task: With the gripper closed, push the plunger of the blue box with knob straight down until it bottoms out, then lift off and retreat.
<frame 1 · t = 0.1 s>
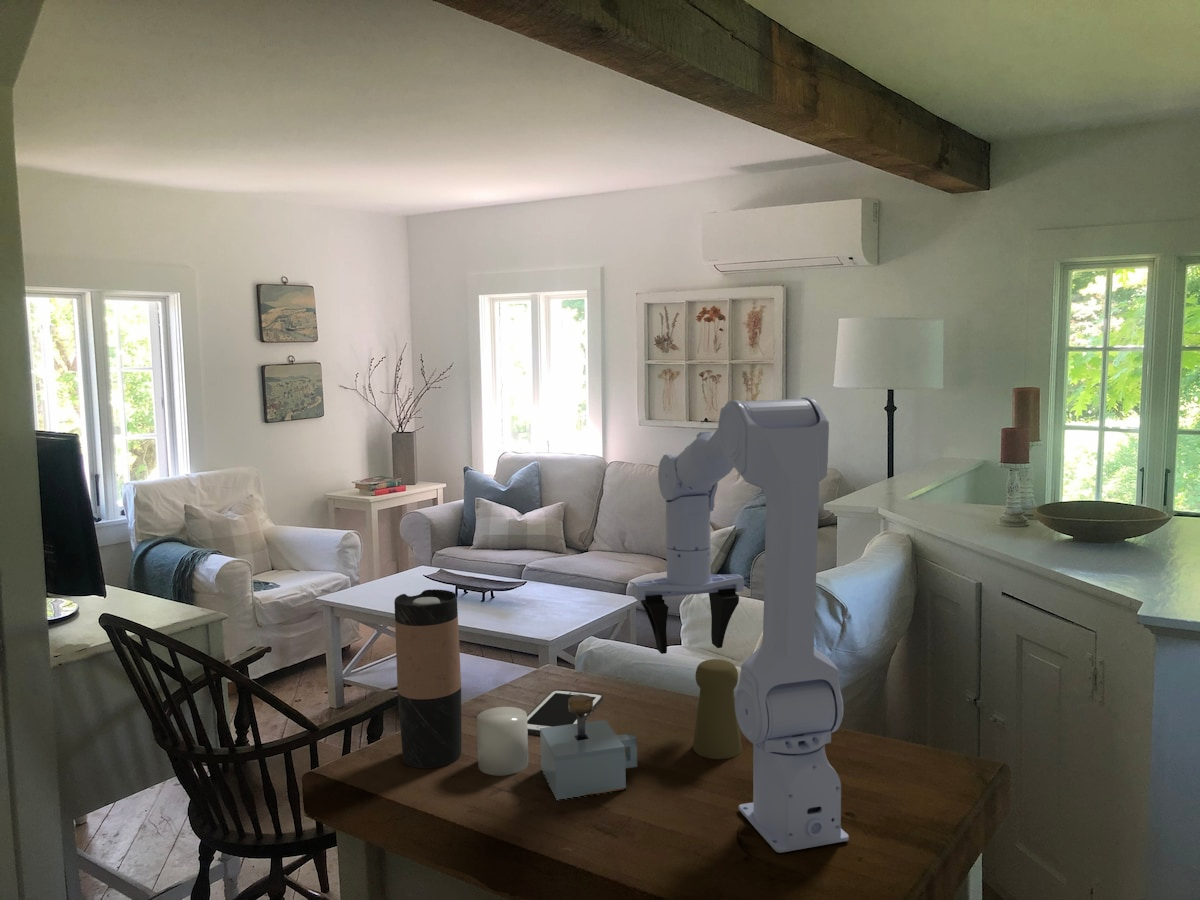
hand: (689, 648, 122), 10 cm above the kitchen island, tool pointing down, fingers open, 7 cm apart
stoneware cup: (503, 764, 112), on the kitchen island
cork: (717, 750, 115), on the kitchen island
plunger: (581, 723, 107), point 7 cm above the kitchen island, slide at 0.0 cm
travel mug: (432, 757, 115), on the kitchen island
cell phone: (561, 718, 127), on the kitchen island
blue box with knob: (582, 779, 107), on the kitchen island
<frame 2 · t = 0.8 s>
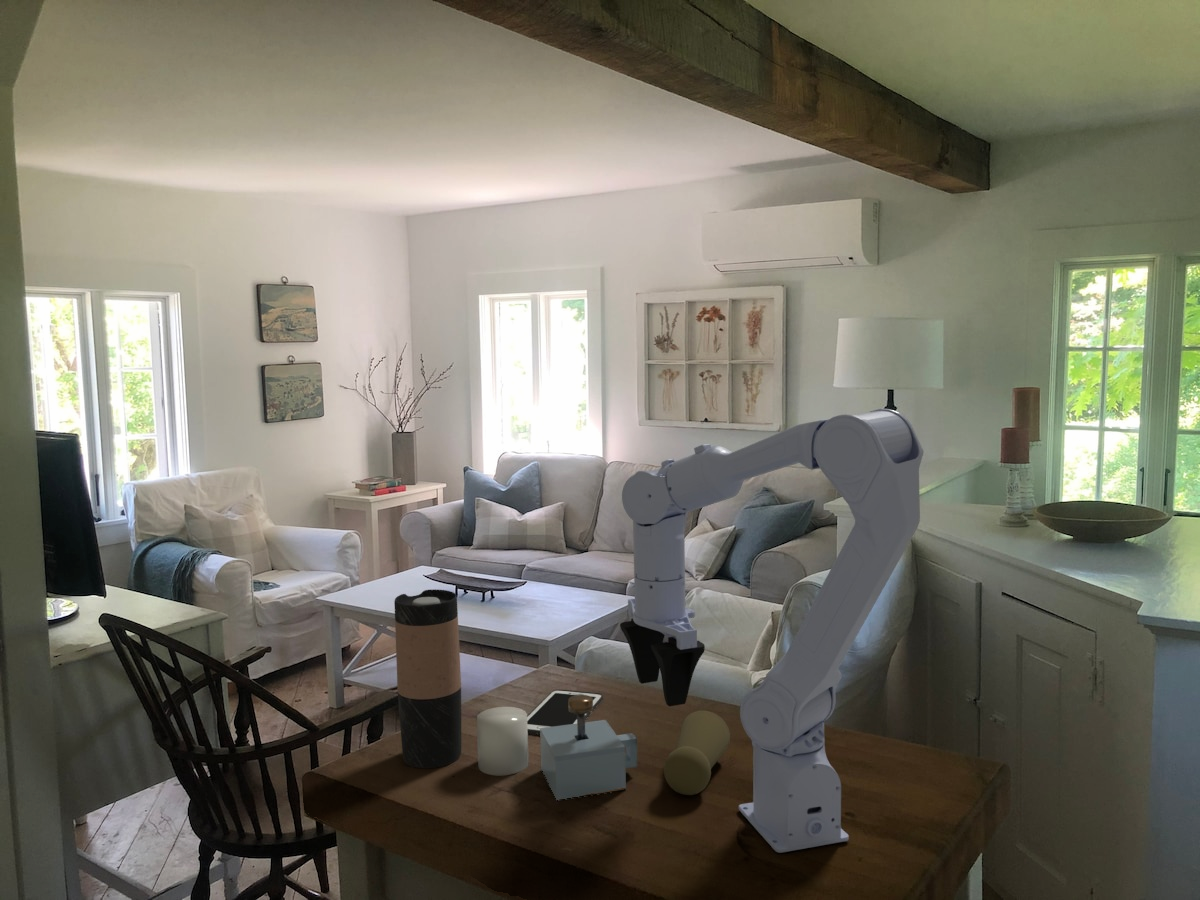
hand: (661, 692, 106), 10 cm above the kitchen island, tool pointing down, fingers open, 7 cm apart
cork: (705, 733, 112), point 3 cm above the kitchen island
everything else where it was.
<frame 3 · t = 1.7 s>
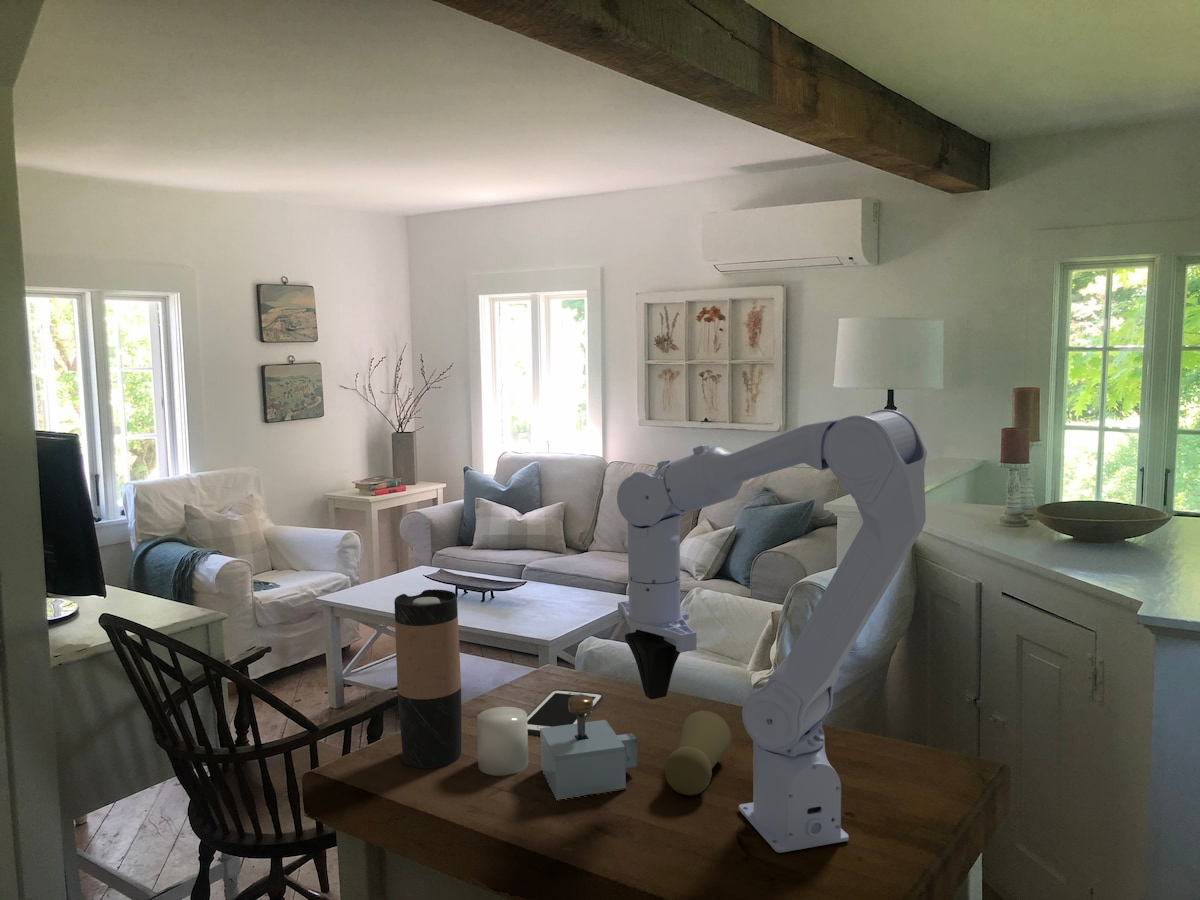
hand: (655, 696, 104), 10 cm above the kitchen island, tool pointing down, fingers closed
nothing on the kitchen island moved.
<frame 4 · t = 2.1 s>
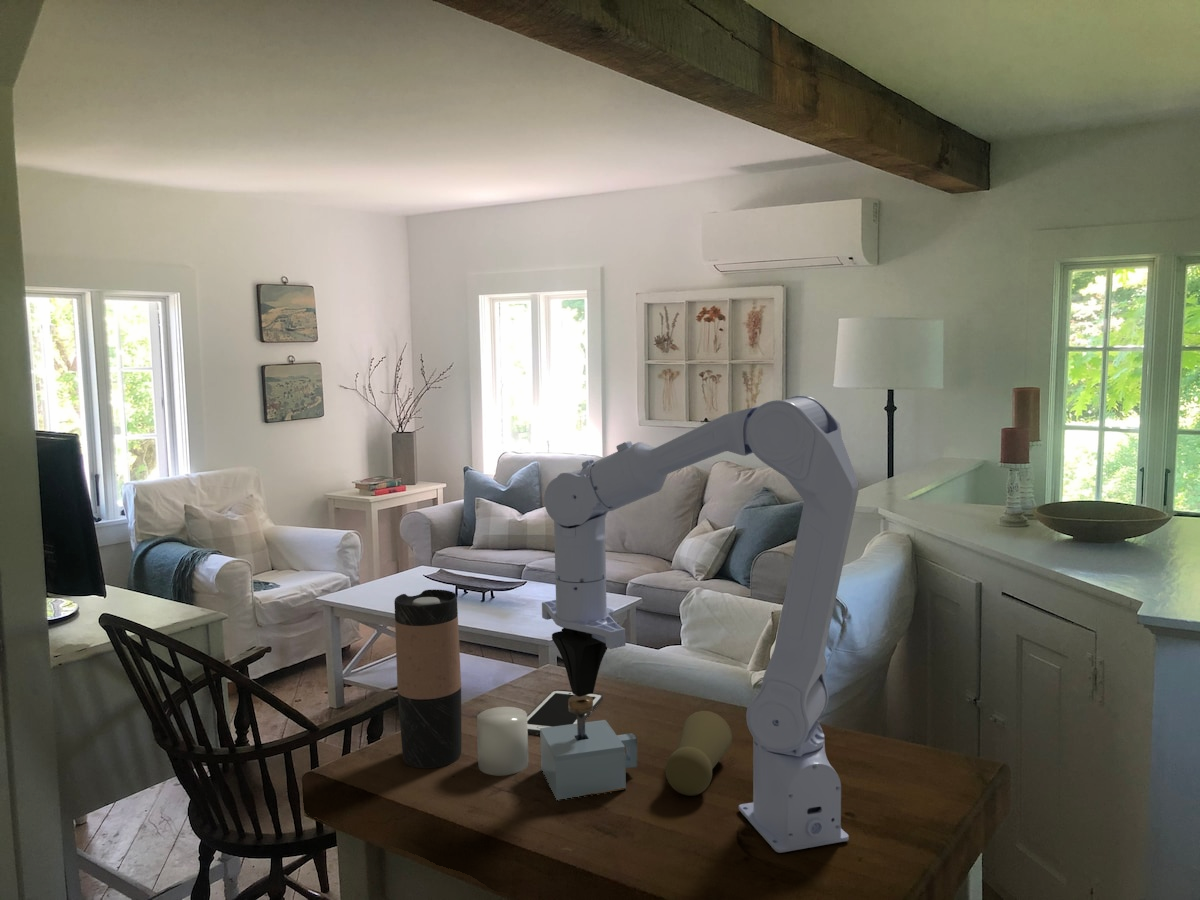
hand: (582, 693, 106), 10 cm above the kitchen island, tool pointing down, fingers closed
nothing on the kitchen island moved.
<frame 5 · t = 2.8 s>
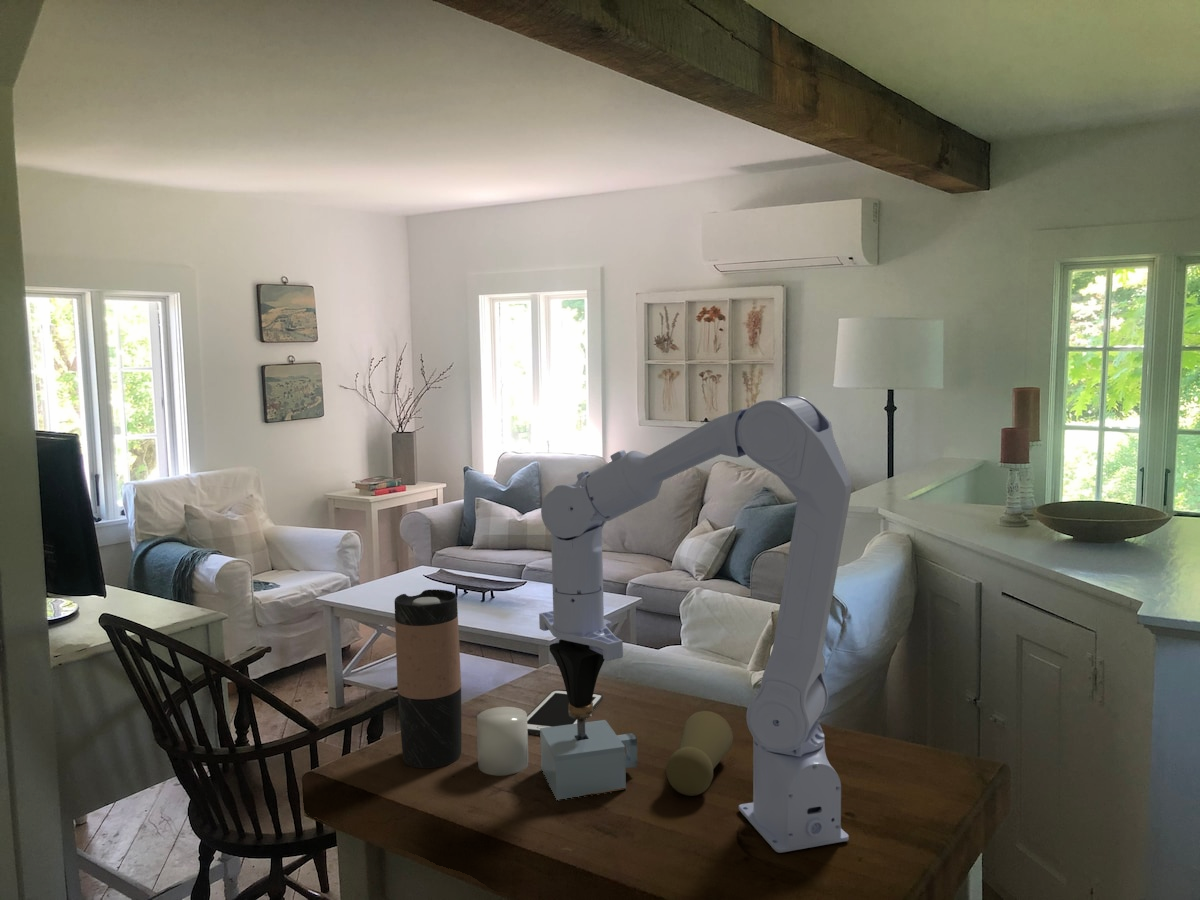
hand: (580, 704, 106), 9 cm above the kitchen island, tool pointing down, fingers closed, pressing on plunger
plunger: (581, 728, 107), point 6 cm above the kitchen island, slide at 0.6 cm, touching gripper
everything else where it was.
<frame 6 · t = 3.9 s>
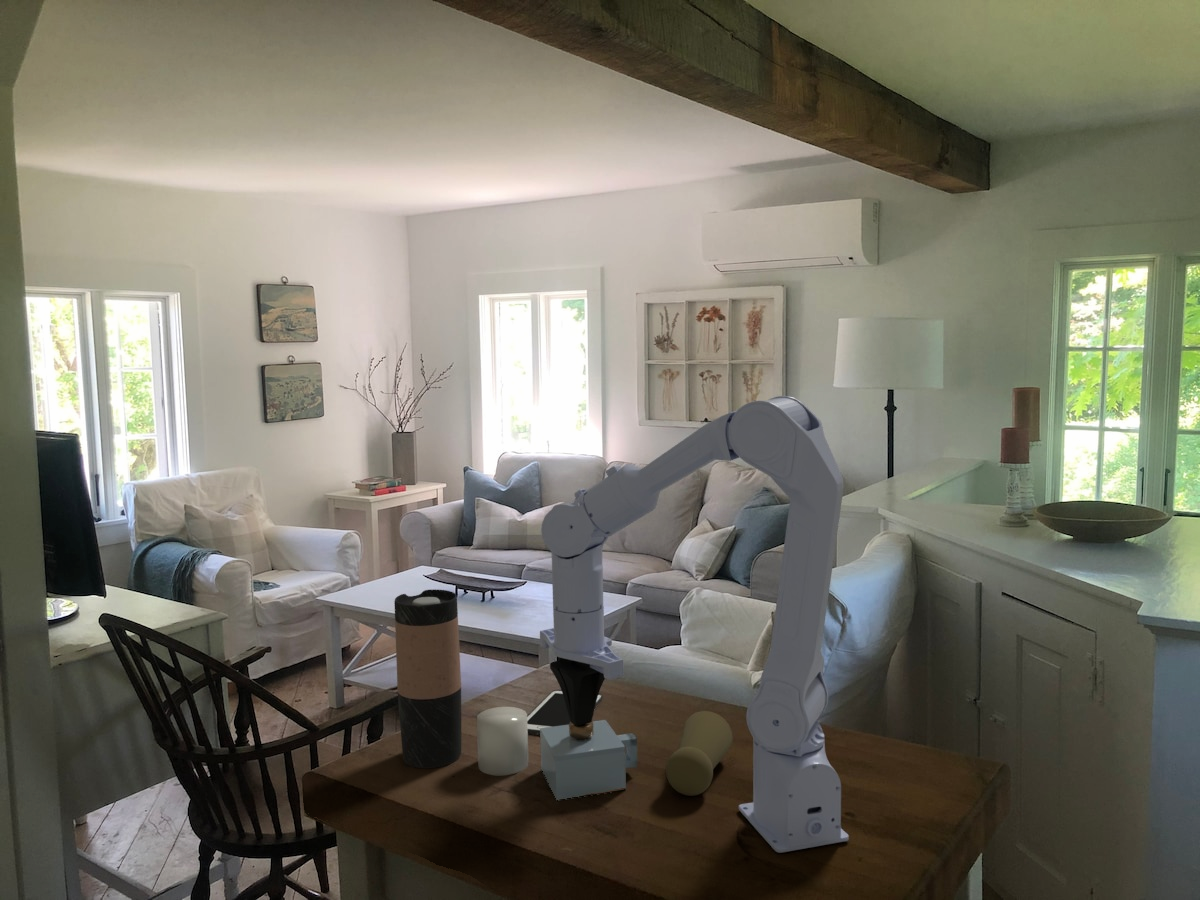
hand: (581, 722, 106), 7 cm above the kitchen island, tool pointing down, fingers closed
plunger: (581, 748, 107), point 4 cm above the kitchen island, slide at 2.9 cm
everything else where it was.
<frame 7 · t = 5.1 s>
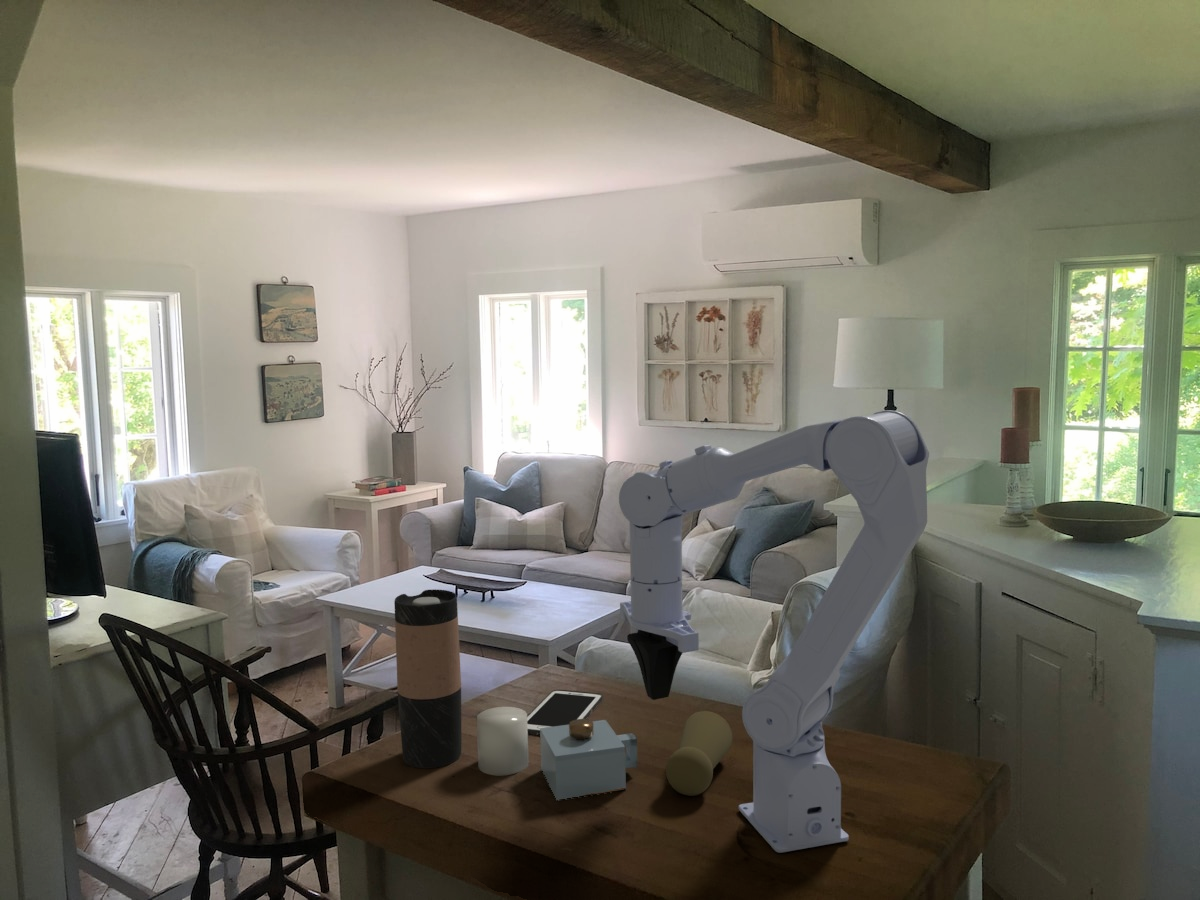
hand: (658, 696, 104), 10 cm above the kitchen island, tool pointing down, fingers closed
nothing on the kitchen island moved.
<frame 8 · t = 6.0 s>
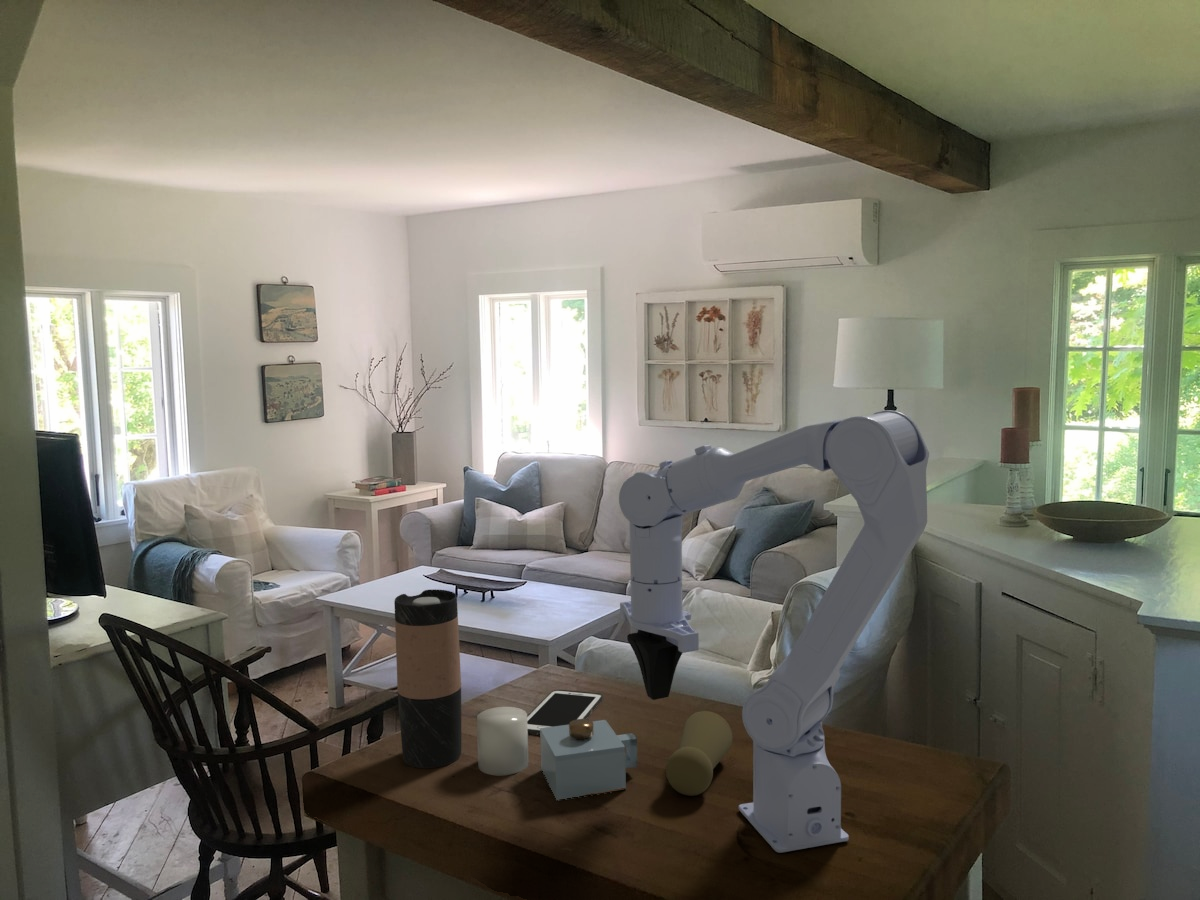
hand: (658, 696, 104), 10 cm above the kitchen island, tool pointing down, fingers closed
nothing on the kitchen island moved.
at the end: plunger slide at 2.9 cm; stoneware cup moved 0.1 cm from its start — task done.
